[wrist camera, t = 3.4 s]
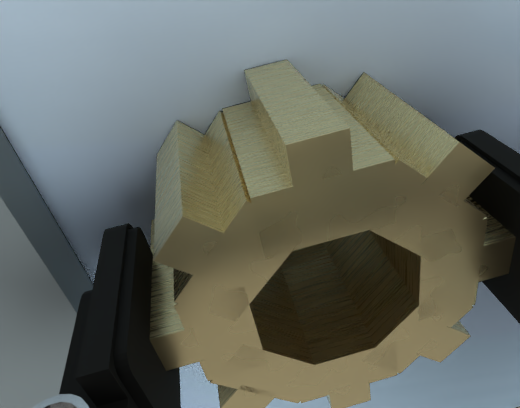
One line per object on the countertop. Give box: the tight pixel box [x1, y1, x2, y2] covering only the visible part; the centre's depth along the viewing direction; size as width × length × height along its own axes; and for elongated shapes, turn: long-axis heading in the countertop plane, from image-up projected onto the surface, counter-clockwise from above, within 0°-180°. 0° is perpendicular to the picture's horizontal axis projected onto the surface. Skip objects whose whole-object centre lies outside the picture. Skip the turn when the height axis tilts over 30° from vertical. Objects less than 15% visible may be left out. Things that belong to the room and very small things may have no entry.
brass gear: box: [150, 60, 516, 408], centre depth 10 cm, size 8×8×4 cm
